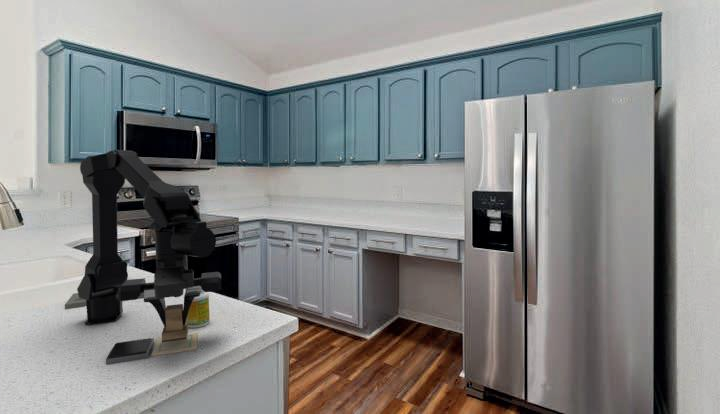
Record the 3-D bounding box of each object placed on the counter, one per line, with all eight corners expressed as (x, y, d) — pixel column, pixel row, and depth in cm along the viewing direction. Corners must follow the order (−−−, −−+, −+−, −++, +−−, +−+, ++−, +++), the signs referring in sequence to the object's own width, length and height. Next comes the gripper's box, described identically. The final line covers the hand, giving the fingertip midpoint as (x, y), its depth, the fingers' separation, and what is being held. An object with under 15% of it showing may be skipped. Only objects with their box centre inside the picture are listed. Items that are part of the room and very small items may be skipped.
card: (151, 356, 74) (151, 354, 74) (157, 339, 81) (157, 337, 81) (196, 349, 76) (195, 347, 76) (197, 333, 84) (197, 332, 84)
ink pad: (106, 364, 70) (105, 357, 70) (115, 348, 77) (114, 342, 77) (148, 357, 73) (147, 351, 73) (153, 342, 79) (153, 336, 79)
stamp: (164, 333, 80) (163, 304, 79) (188, 330, 81) (186, 302, 81) (162, 342, 76) (160, 312, 75) (186, 339, 77) (185, 309, 77)
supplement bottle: (200, 329, 86) (198, 288, 85) (179, 327, 87) (178, 286, 87) (214, 320, 92) (212, 281, 91) (194, 318, 93) (192, 280, 92)
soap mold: (72, 300, 108) (71, 288, 108) (151, 289, 118) (151, 279, 117) (65, 311, 99) (64, 298, 99) (151, 299, 109) (150, 287, 108)
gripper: (107, 265, 66) (113, 350, 68) (220, 256, 73) (223, 334, 74) (122, 252, 76) (126, 326, 78) (219, 246, 83) (222, 314, 85)
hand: (175, 325), depth 78 cm, fingers closed on stamp, 3 cm apart
